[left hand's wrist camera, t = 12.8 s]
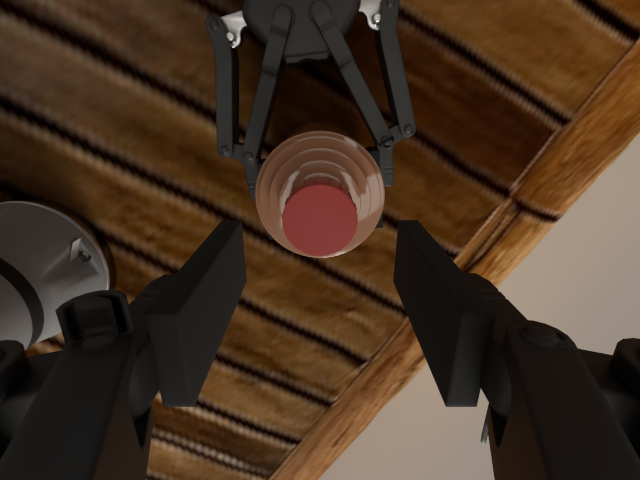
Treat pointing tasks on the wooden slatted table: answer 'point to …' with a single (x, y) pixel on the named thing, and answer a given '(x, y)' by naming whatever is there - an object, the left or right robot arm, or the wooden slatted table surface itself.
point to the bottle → (322, 162)
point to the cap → (319, 217)
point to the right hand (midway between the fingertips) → (325, 228)
